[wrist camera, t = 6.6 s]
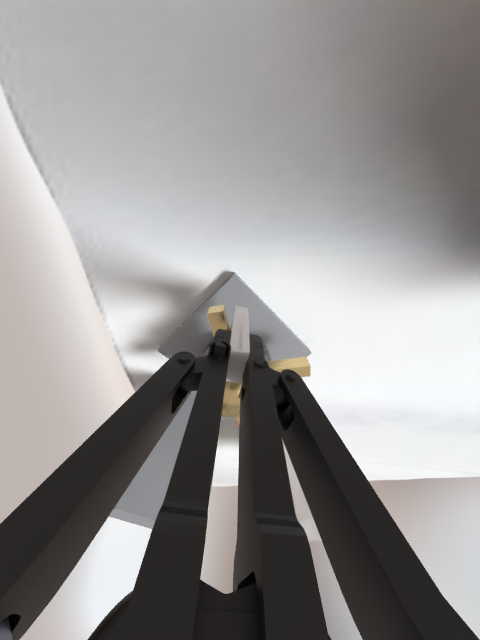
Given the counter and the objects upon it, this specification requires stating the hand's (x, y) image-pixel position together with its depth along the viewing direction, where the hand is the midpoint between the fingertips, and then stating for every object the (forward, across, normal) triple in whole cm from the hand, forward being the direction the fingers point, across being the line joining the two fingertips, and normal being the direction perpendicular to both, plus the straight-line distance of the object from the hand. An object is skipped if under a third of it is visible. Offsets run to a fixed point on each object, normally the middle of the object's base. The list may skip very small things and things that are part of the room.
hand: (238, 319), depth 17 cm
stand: (+4, -1, -9) cm, 10 cm away
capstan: (+3, +1, -7) cm, 8 cm away
